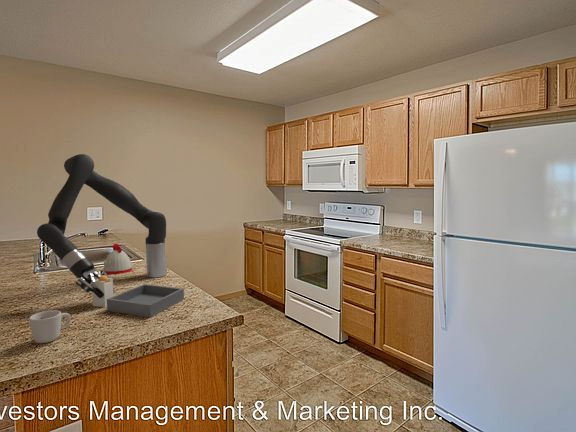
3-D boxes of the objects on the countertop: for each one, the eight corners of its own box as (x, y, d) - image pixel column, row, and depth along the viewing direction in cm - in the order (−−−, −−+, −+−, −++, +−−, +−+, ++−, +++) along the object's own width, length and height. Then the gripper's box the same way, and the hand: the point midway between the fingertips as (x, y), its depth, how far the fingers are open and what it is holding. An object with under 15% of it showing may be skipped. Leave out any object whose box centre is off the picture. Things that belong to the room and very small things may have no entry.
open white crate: (93, 306, 133) (91, 281, 132) (102, 301, 138) (100, 277, 137) (105, 306, 132) (103, 281, 131) (113, 302, 137) (112, 278, 136)
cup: (65, 328, 113) (64, 305, 112) (76, 335, 108) (75, 310, 107) (26, 341, 104) (24, 316, 103) (37, 348, 99) (35, 322, 98)
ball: (102, 279, 136) (103, 272, 135) (109, 283, 135) (110, 275, 134) (95, 283, 133) (96, 275, 132) (102, 286, 132) (103, 279, 131)
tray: (144, 294, 147) (144, 284, 147) (184, 299, 141) (183, 288, 141) (107, 310, 128) (106, 299, 128) (150, 317, 122) (150, 305, 122)
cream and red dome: (123, 266, 195) (122, 240, 194) (137, 270, 187) (136, 243, 186) (98, 271, 184) (97, 244, 182) (111, 275, 176) (110, 247, 174)
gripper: (69, 261, 127) (100, 293, 127) (96, 253, 141) (124, 282, 141) (58, 274, 129) (88, 306, 128) (85, 265, 143) (113, 294, 142)
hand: (107, 294), depth 135 cm, fingers closed on open white crate, 5 cm apart
